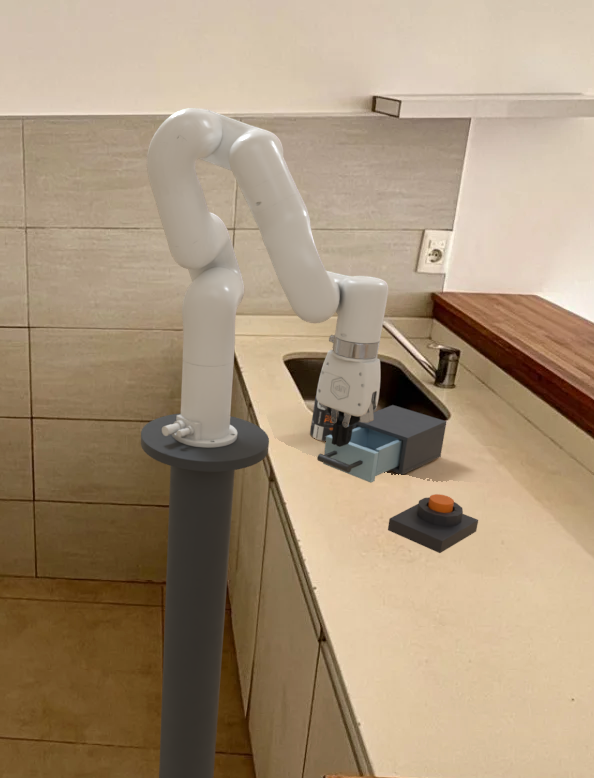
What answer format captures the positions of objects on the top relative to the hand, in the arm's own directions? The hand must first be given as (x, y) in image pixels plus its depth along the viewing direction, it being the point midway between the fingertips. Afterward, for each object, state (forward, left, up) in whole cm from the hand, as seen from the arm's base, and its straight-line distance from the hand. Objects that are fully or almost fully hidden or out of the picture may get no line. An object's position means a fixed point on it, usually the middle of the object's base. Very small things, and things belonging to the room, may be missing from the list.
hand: (340, 443), depth 140 cm
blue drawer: (+6, -1, -6) cm, 9 cm away
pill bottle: (+15, +14, -7) cm, 22 cm away
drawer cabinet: (+18, -1, -7) cm, 19 cm away
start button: (-3, -21, -4) cm, 22 cm away
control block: (-4, -21, -7) cm, 23 cm away
